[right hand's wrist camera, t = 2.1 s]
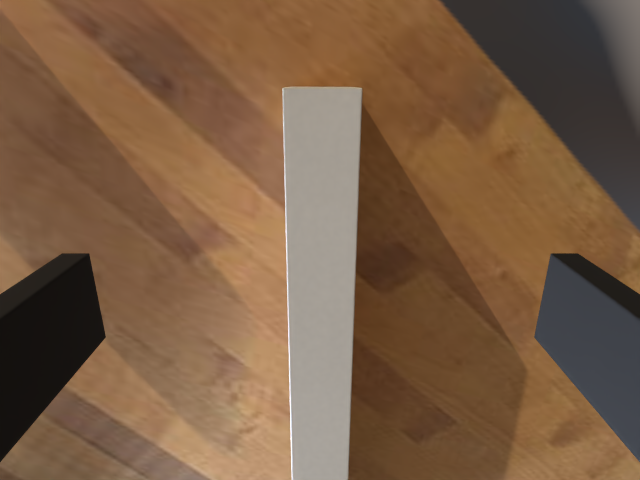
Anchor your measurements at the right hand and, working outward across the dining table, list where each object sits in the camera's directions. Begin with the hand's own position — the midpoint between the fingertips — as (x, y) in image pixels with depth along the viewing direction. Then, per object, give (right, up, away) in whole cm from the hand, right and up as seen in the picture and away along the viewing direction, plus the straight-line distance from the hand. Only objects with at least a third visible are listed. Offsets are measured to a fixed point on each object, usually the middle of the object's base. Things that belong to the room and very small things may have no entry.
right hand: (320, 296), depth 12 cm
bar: (0, -11, +31) cm, 33 cm away
